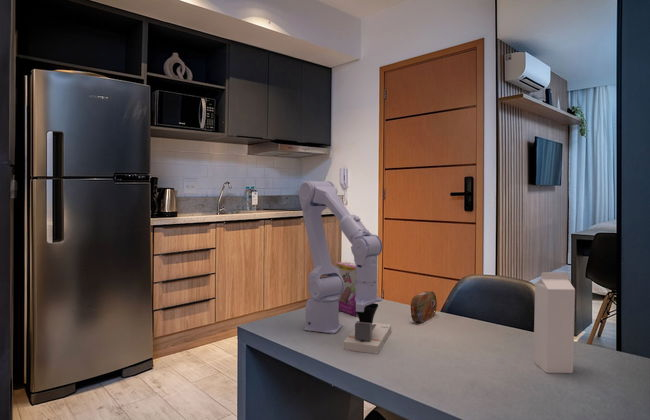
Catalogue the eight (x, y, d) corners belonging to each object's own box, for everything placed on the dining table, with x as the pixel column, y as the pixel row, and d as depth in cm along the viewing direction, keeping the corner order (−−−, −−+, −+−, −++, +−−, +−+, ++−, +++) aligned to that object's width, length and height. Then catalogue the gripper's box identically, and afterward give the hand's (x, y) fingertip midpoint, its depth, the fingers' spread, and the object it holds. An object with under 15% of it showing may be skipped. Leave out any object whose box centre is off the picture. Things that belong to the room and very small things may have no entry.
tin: (418, 325, 124) (418, 298, 124) (408, 323, 126) (408, 296, 126) (437, 314, 136) (437, 289, 136) (428, 313, 138) (428, 288, 138)
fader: (354, 339, 106) (355, 323, 105) (357, 336, 108) (357, 320, 108) (370, 340, 104) (370, 325, 104) (372, 337, 106) (372, 322, 106)
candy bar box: (334, 309, 141) (334, 262, 141) (345, 307, 144) (346, 261, 144) (356, 317, 132) (356, 267, 132) (367, 315, 135) (367, 265, 135)
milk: (533, 362, 97) (534, 269, 96) (559, 362, 97) (560, 270, 96) (546, 373, 91) (547, 274, 90) (574, 373, 91) (575, 274, 90)
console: (343, 349, 105) (343, 341, 104) (361, 328, 121) (361, 321, 121) (377, 354, 102) (377, 345, 101) (391, 331, 118) (391, 324, 118)
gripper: (375, 287, 100) (374, 342, 100) (386, 276, 114) (386, 325, 114) (347, 285, 102) (347, 339, 103) (362, 275, 116) (361, 322, 116)
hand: (366, 331), depth 109 cm, fingers closed
